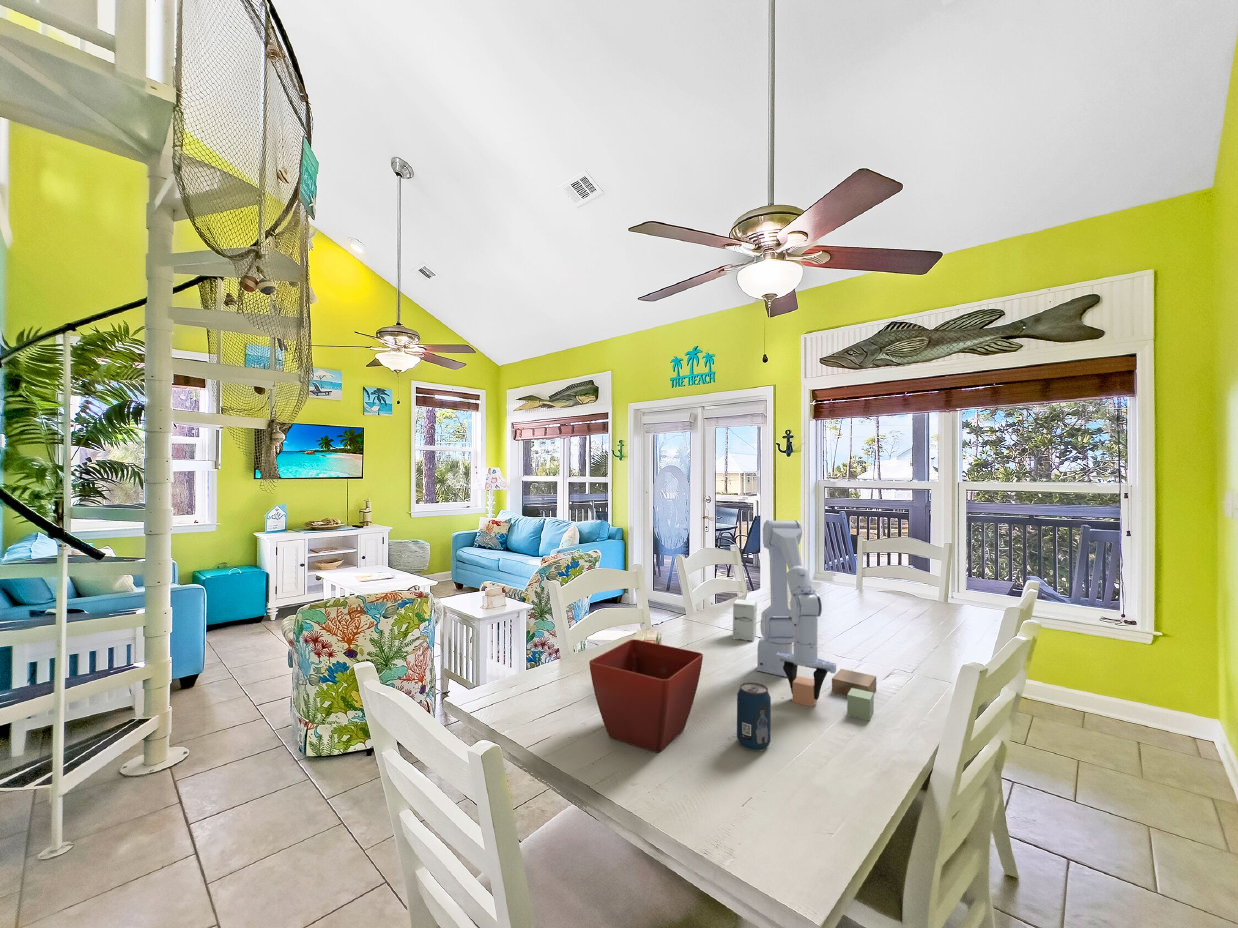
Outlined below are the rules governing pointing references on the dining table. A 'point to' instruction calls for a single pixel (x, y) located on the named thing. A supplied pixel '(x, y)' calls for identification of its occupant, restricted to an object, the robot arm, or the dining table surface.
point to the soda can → (753, 716)
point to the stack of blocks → (648, 636)
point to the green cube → (860, 704)
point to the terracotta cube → (803, 691)
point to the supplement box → (744, 619)
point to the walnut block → (852, 682)
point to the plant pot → (645, 691)
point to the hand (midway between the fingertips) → (805, 695)
